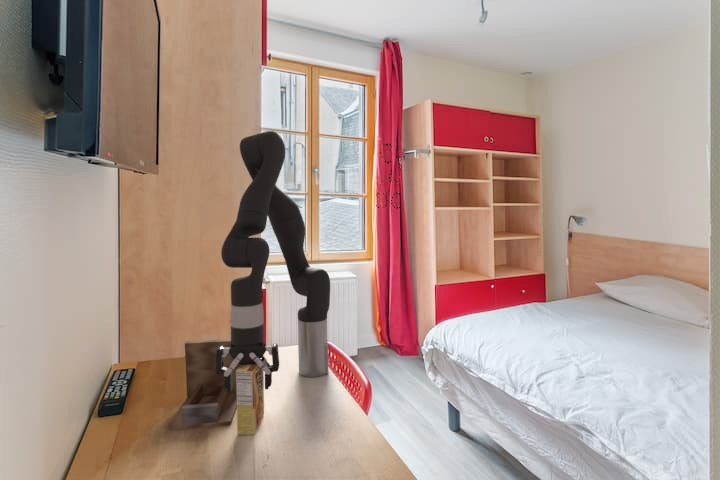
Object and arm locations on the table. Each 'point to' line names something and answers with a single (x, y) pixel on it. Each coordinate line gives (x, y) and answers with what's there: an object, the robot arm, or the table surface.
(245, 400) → the candy box
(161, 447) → the table surface
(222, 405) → the board
